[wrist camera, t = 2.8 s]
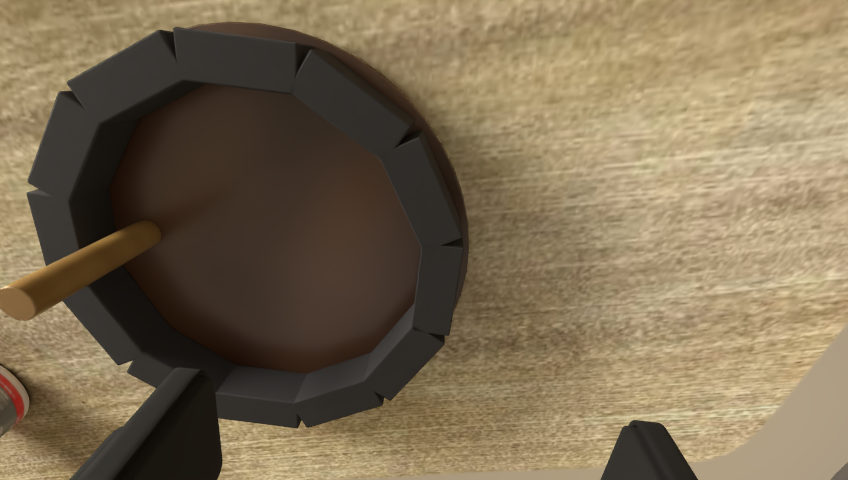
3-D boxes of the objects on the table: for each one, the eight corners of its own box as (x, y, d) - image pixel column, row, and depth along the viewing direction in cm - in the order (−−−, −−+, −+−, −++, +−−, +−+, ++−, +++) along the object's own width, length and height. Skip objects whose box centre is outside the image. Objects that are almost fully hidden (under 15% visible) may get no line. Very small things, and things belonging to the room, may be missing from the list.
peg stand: (504, 54, 15) (541, 45, 9) (440, 415, 22) (437, 544, 16) (26, -7, 15) (-250, -57, 9) (111, 373, 22) (-13, 487, 16)
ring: (489, 68, 15) (494, 67, 13) (431, 413, 21) (430, 446, 19) (32, 9, 15) (-27, 0, 13) (113, 372, 21) (82, 401, 19)
